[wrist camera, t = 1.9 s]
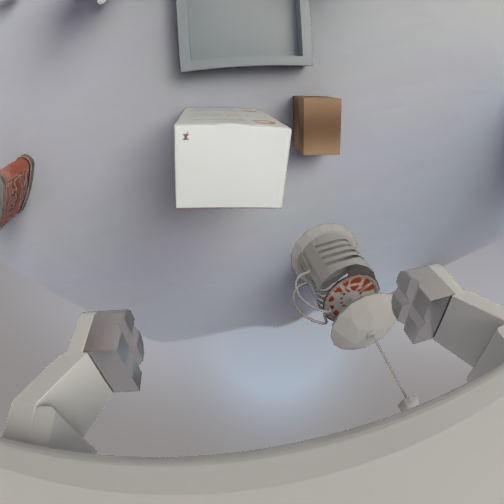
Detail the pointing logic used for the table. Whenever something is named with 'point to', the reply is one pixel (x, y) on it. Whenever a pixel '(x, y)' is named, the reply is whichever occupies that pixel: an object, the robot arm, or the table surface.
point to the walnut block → (317, 125)
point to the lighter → (15, 187)
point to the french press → (344, 291)
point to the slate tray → (243, 33)
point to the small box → (230, 158)
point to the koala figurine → (101, 1)
